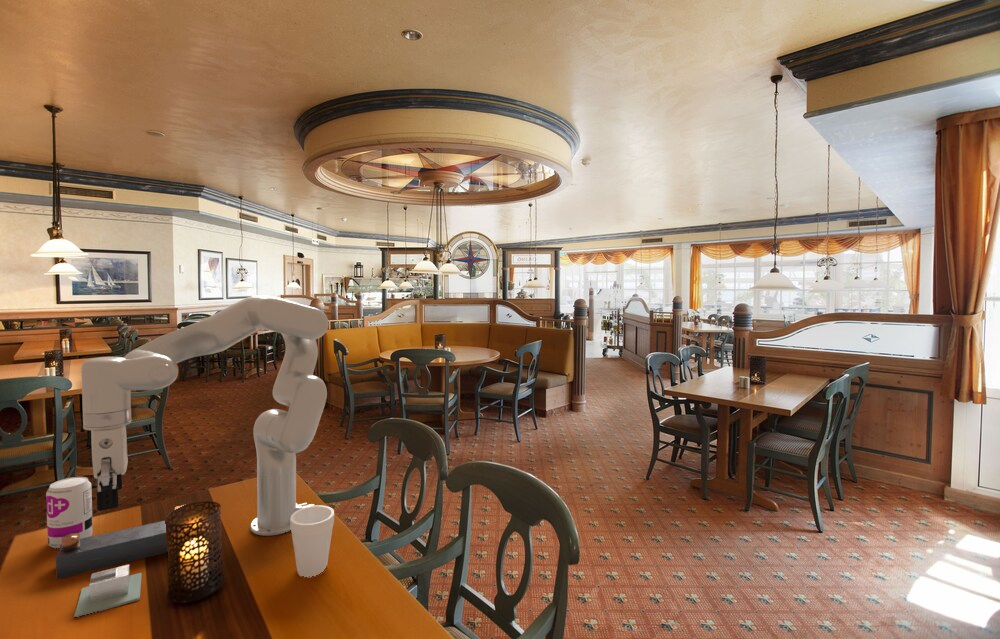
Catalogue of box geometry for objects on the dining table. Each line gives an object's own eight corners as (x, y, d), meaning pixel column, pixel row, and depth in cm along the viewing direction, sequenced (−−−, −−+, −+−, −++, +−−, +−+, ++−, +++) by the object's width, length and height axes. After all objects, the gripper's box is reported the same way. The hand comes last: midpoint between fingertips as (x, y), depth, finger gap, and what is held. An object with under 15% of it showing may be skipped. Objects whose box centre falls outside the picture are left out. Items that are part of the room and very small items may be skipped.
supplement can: (65, 552, 111) (64, 491, 110) (39, 547, 113) (36, 487, 112) (101, 534, 119) (99, 477, 118) (75, 530, 121) (73, 474, 120)
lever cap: (129, 582, 100) (129, 561, 100) (128, 593, 97) (127, 572, 96) (93, 591, 97) (92, 570, 97) (90, 604, 93) (89, 582, 93)
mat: (141, 574, 104) (141, 572, 104) (139, 599, 96) (139, 597, 96) (82, 590, 98) (82, 588, 98) (74, 618, 90) (74, 616, 90)
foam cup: (341, 569, 108) (341, 515, 107) (301, 587, 101) (301, 529, 100) (321, 552, 114) (322, 501, 114) (283, 568, 108) (283, 514, 107)
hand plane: (188, 534, 121) (187, 500, 120) (189, 546, 115) (188, 511, 115) (62, 563, 107) (61, 525, 106) (56, 579, 101) (55, 539, 101)
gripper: (128, 426, 90) (131, 511, 91) (133, 406, 104) (135, 480, 105) (76, 432, 86) (80, 522, 87) (88, 410, 100) (91, 488, 101)
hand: (110, 499), depth 96 cm, fingers open, 9 cm apart
